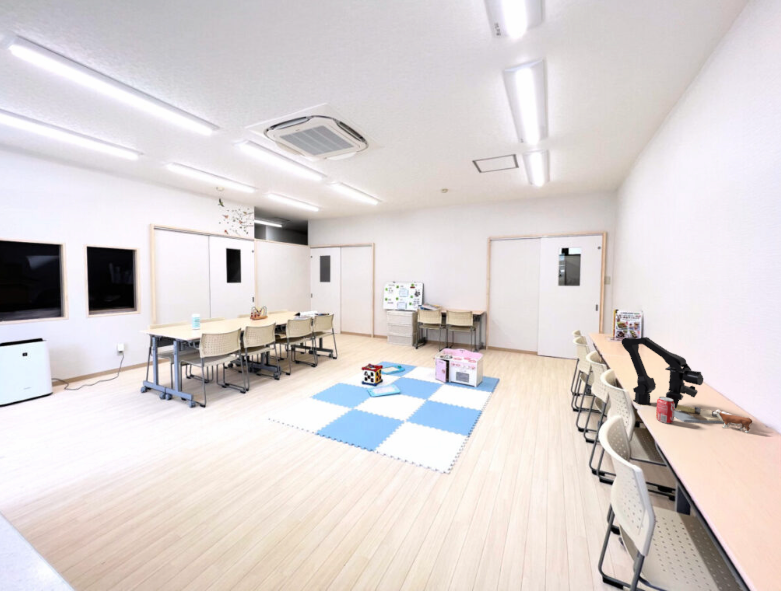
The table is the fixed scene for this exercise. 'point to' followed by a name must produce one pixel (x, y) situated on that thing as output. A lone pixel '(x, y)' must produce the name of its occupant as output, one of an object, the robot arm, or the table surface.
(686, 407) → the latch bar
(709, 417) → the door mockup
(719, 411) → the bull figurine
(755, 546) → the table surface
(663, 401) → the soda can
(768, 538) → the table surface
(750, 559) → the table surface
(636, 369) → the robot arm
